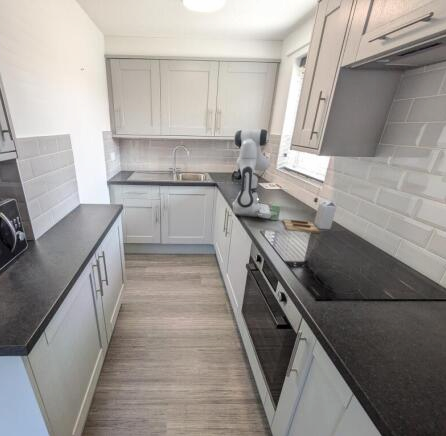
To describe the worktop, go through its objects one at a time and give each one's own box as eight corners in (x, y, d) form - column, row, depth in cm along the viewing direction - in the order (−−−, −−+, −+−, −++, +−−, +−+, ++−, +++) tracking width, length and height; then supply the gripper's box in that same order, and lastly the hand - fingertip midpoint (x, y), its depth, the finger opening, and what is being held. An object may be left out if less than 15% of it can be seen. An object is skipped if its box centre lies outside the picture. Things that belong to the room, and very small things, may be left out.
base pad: (282, 220, 158) (283, 216, 157) (311, 224, 154) (312, 219, 153) (286, 229, 143) (287, 225, 142) (318, 233, 139) (319, 228, 138)
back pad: (269, 217, 161) (272, 203, 158) (277, 218, 160) (279, 204, 157) (270, 219, 158) (272, 205, 154) (278, 220, 157) (280, 206, 153)
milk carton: (324, 225, 152) (332, 197, 145) (330, 229, 145) (338, 200, 139) (313, 224, 152) (320, 197, 146) (318, 229, 146) (326, 200, 139)
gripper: (256, 210, 150) (279, 212, 146) (255, 201, 168) (275, 203, 165) (255, 219, 152) (277, 221, 149) (254, 209, 170) (273, 211, 167)
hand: (276, 212), depth 157 cm, fingers closed on back pad, 4 cm apart
